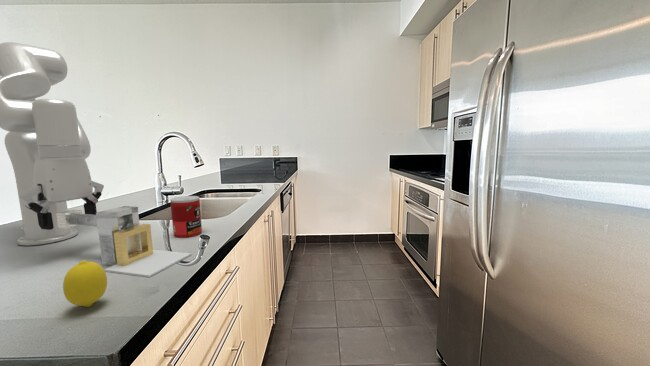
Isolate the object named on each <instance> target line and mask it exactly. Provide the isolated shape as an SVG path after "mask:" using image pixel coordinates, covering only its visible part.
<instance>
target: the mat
mask: <svg viewBox="0 0 650 366" xmlns="http://www.w3.org/2000/svg"><path fill="white" fill-rule="evenodd" d="M191 256H192V253H190V252H180V251H173V250H172V251H169V250H160V249H153V254H152V255H149V256H147V257H145V258H142V259H140V260H138V261H135V262H133V263H131V264H128V265H126V266H119V265H117V264H116V265H114V266H109V267H107V268H105V269H104V268H103V269H104V271H105V273H107V272H108V273H115V274H122V275H128V276H129V275H130V276H136V277H143V278H144V277H145V278H151V277H153V276H155V275H157V274H159V273H161V272H162V271H164V270H167V269H168V268H170V267H172V266H174V265H176V264H177V263H179V262H182V261H183V260H184V259H185V260H186V259H187V258H189V257H191Z"/></svg>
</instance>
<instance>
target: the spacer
mask: <svg viewBox="0 0 650 366" xmlns="http://www.w3.org/2000/svg"><path fill="white" fill-rule="evenodd" d="M138 233H140V236H141V246H142V250H141V251H138V252H136V253H133V254H131V255H128V248H127V239H126V237H128V236H131V235H135V234H138ZM114 241H115V250H116V258H117V265H119V266H126V265H128V264H131V263H133V262H135V261H138V260H140V259H142V258H145V257H147V256H149V255H152V254H153V250H154V248H153V239H152V230H151V224H150V223H142V224H140V225H138V226H135V227H131V228H128V229H125V230H121V231H118V232H115V233H114Z"/></svg>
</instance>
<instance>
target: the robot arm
mask: <svg viewBox="0 0 650 366" xmlns="http://www.w3.org/2000/svg"><path fill="white" fill-rule="evenodd" d="M67 64H68V63H67V61H66V60H65V58H64V57H63V56H62V54H61V53H59V52H58V51H55V50H54V49H50V48H46V47H45V48H44V47H38V46H34V45H29V44H23V43H19V42H12V41H11V42H10V41H6V42H1V43H0V129H2V130H4V131H7V133H6V134H5V137H4V141H3V142H4V146H5V148H6V152H7V155H8V158H9V159H10V162H11V166H12V168H13V173H14V177H15V183H16V189H17V195H18V201H19V202H18V203H19V207H20V213H21V215H20V216H21V220H22V226H21V227H20V231H23V232H24V235H23V236H21V237H19V238H17V245H20V246H26V247H27V246H39V245H47V244H52V243H56V242H61V241H65V240H68V239H72V238H73V237H75V236H77V235H78V234H79V232H78V229H76V228H72V227H70V228H59V227H58V223H57V216H56V213H58V212H63V211H68V210H69V209H68V203H67V202H69V201H74V200H80V199H82V200H83V201H84V203H83V210H84V214H94V215H96V213H97V212H98V211H97V203H98V202H99V199H100V197H101V196H102V195H103V194H102V193H103V189H104V186H105V185H104V184H101V183H99V182H96V181H93V180H92V176H91V173H90V169H89V167H88V164H87V161H86V159H87V158H89V156H90V154H91V143H90V141H89V139H88V136H87V134H86V132H85V130H84V128H83V125H82V124H81V122H80V120H79V119H78V115H77V110H76V109H77V108H76V105H75V104H74V103H73V102H71V101H68V100H63V99H57V98H56V99H55V98H42V97H43V96H45V95H47V94H48V93H49V91H50V90H51V87H52V86H55V85H57V84H59V83H61V82H63V81H64V80H65V79H66V78H67V75H68V71H69V70H68V65H67ZM40 97H41V98H40ZM37 98H38V99H37ZM93 188H94V189H93Z"/></svg>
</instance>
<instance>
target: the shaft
mask: <svg viewBox="0 0 650 366" xmlns="http://www.w3.org/2000/svg"><path fill="white" fill-rule="evenodd" d="M82 212H83V211H82V210H81V209H68V211H63V212H58V213H56V216H57V223H58V227H59V228H74V227H76V226H84V227H85V226H86V227H96V228H98V226H97V218H96V215H94V214H85V213H82ZM127 224H128V219H127V218H126V217H124V216H120V217H118V226H119V229H123V228H125V227H126V226H127Z"/></svg>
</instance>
